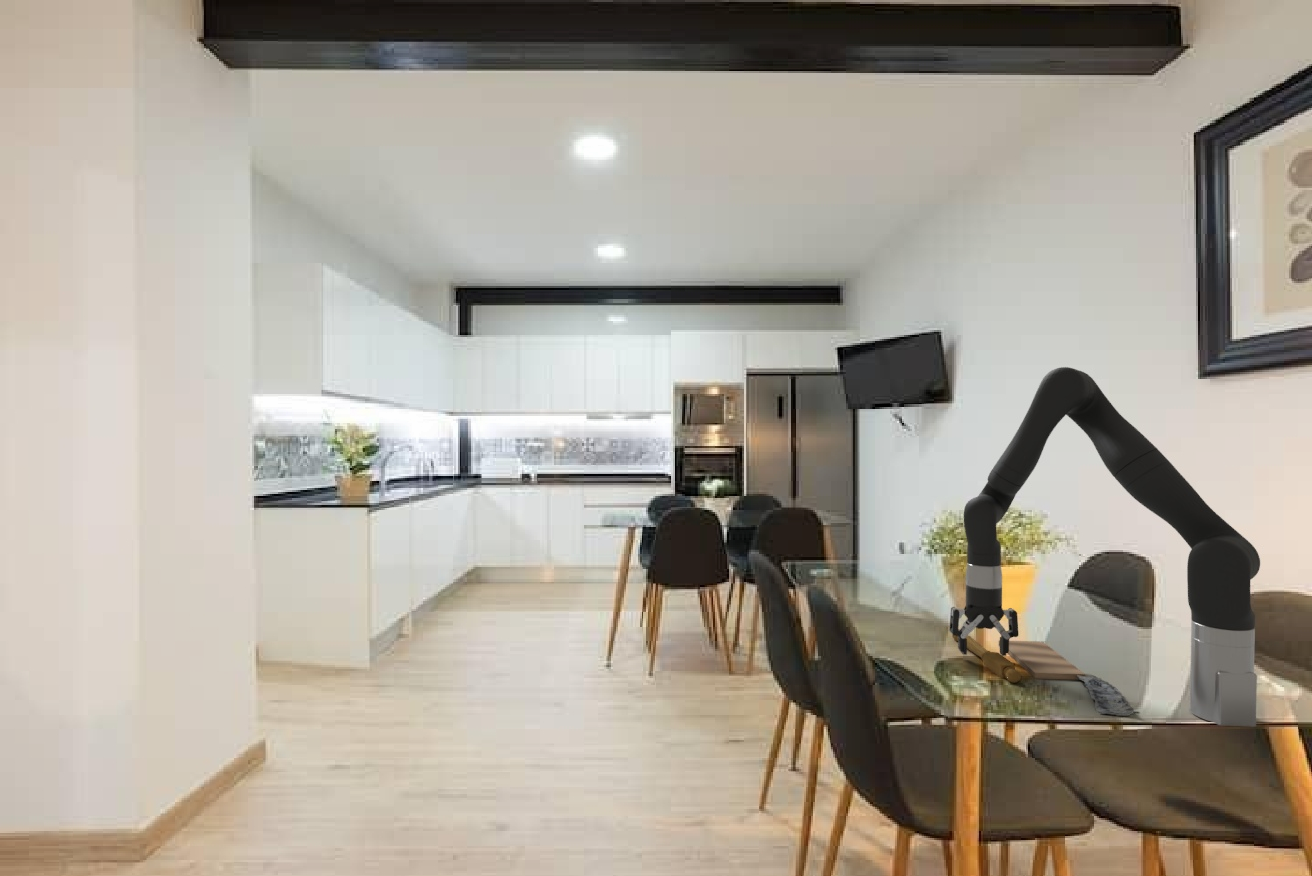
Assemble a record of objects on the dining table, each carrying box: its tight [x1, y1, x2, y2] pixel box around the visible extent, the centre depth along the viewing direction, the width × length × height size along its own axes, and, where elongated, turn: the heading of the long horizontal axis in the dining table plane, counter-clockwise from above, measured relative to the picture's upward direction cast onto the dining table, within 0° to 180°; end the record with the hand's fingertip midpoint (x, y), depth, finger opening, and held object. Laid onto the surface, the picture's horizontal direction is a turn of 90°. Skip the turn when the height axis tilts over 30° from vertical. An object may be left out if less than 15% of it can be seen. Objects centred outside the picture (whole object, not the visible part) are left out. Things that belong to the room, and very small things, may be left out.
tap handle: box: [951, 628, 1022, 684], centre depth 166 cm, size 3×3×30 cm
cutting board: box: [998, 639, 1086, 681], centre depth 164 cm, size 22×10×1 cm, turn 173°
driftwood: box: [1077, 673, 1141, 717], centre depth 144 cm, size 21×7×2 cm, turn 162°
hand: (983, 654), depth 166 cm, fingers open, 8 cm apart
